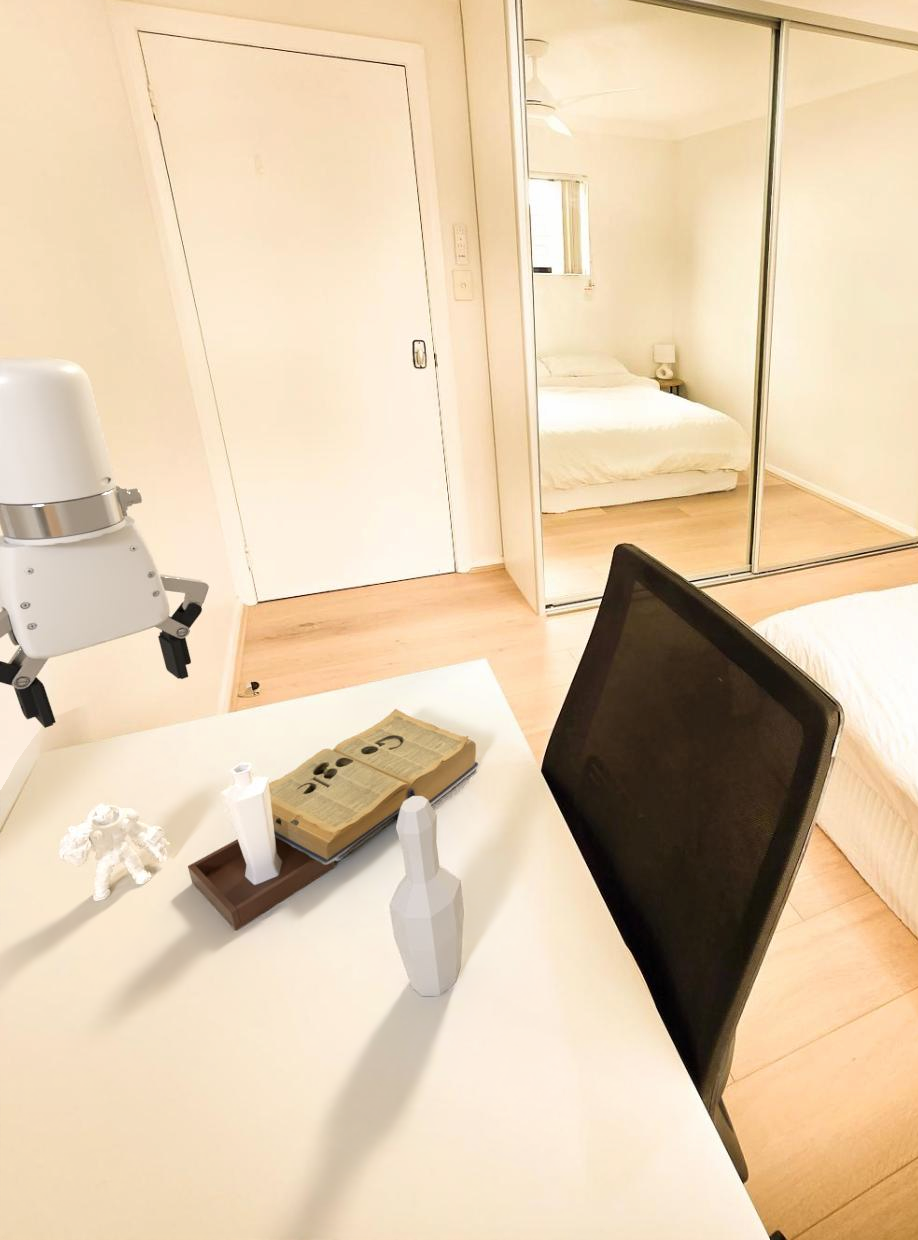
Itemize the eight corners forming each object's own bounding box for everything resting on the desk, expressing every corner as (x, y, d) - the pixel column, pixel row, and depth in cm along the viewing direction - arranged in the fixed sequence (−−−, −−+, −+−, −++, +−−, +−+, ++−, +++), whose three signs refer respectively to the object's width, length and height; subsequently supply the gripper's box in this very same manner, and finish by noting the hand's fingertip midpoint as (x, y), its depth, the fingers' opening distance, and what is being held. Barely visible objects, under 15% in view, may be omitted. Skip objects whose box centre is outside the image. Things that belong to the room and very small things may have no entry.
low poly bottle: (480, 958, 74) (463, 789, 67) (443, 1013, 68) (421, 835, 61) (429, 942, 75) (408, 775, 68) (389, 994, 70) (361, 818, 62)
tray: (235, 931, 76) (231, 913, 75) (192, 883, 82) (187, 866, 81) (335, 867, 85) (332, 850, 84) (289, 828, 91) (285, 812, 90)
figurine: (101, 924, 76) (72, 838, 72) (60, 919, 77) (29, 833, 73) (178, 855, 86) (156, 775, 82) (141, 850, 86) (117, 771, 82)
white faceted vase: (246, 862, 84) (222, 760, 79) (286, 853, 86) (265, 752, 81) (236, 891, 80) (210, 785, 75) (279, 881, 82) (257, 777, 77)
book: (401, 735, 110) (397, 703, 108) (480, 767, 103) (477, 733, 101) (244, 835, 89) (236, 797, 87) (330, 883, 82) (323, 843, 80)
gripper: (168, 486, 65) (205, 647, 70) (-103, 530, 51) (-30, 726, 57) (203, 500, 61) (240, 670, 67) (-81, 552, 47) (-5, 760, 53)
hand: (115, 696), depth 62 cm, fingers open, 9 cm apart
